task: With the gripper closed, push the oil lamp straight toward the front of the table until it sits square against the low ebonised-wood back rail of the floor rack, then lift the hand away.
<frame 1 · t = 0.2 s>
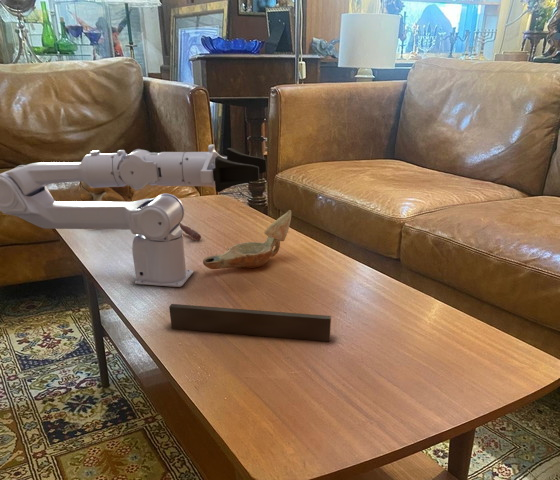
hand: (262, 169, 95), 21 cm above the table, tool horizontal, fingers open, 7 cm apart
stuffed squirrel: (118, 214, 137), point 3 cm above the table
oil lamp: (248, 265, 116), on the table
rack: (247, 323, 92), on the table
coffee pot: (170, 234, 134), on the table
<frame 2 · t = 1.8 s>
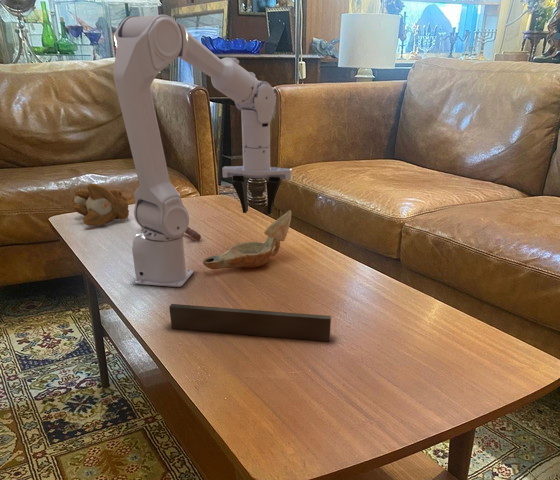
hand: (257, 212, 120), 8 cm above the table, tool pointing down, fingers open, 5 cm apart
stuffed squirrel: (110, 206, 138), point 5 cm above the table
everything else where it was.
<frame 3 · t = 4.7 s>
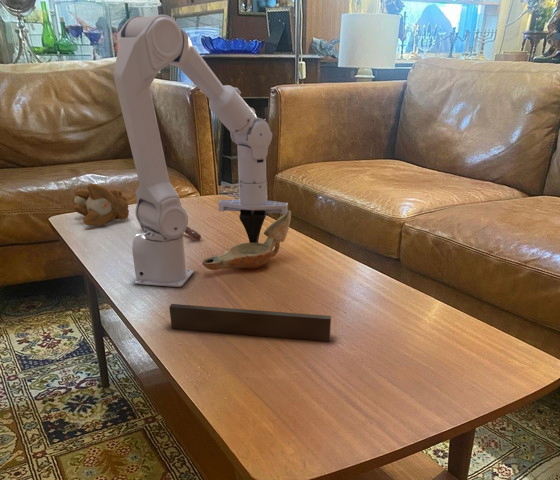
hand: (254, 245, 119), 2 cm above the table, tool pointing down, fingers closed
oil lamp: (248, 266, 115), on the table, touching gripper
everything else where it was.
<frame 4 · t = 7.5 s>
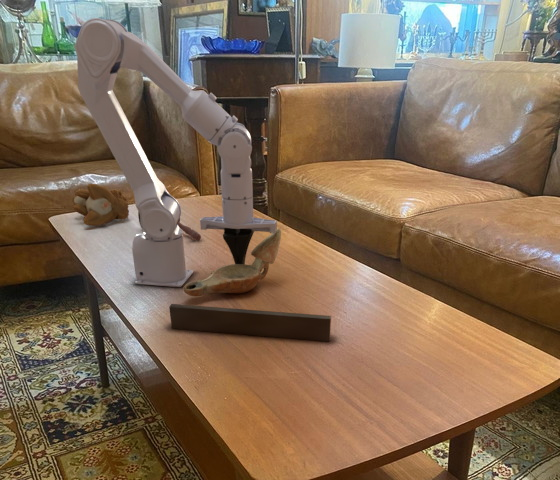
hand: (240, 266, 108), 2 cm above the table, tool pointing down, fingers closed
oil lamp: (234, 291, 104), on the table, touching gripper
everything else where it was.
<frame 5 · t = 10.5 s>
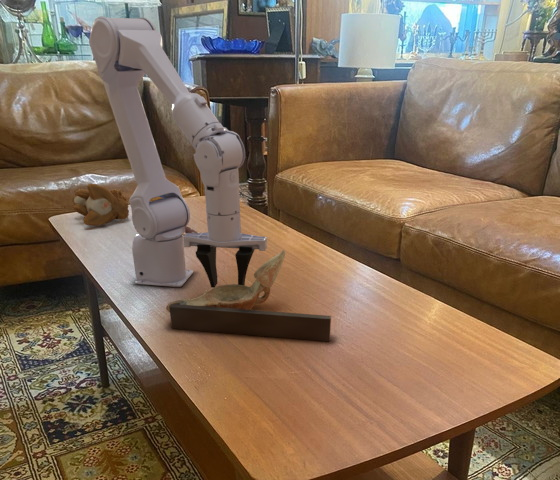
hand: (227, 286, 99), 2 cm above the table, tool pointing down, fingers open, 4 cm apart
oil lamp: (227, 313, 96), on the table, touching gripper, rack
everything else where it was.
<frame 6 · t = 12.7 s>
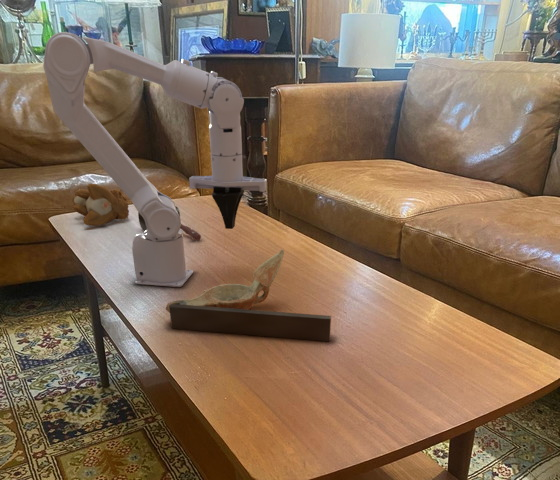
hand: (230, 227, 107), 9 cm above the table, tool pointing down, fingers closed
oil lamp: (227, 313, 96), on the table
everything else where it was.
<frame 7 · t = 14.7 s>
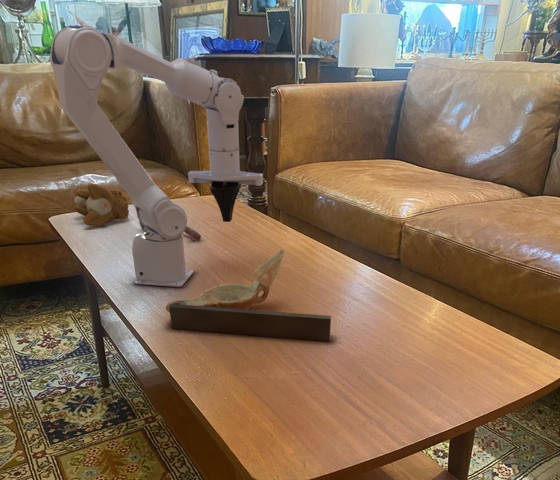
hand: (227, 220, 111), 9 cm above the table, tool pointing down, fingers closed
nothing on the table moved.
at the end: oil lamp inside the target area on the rack (1.9 cm from its centre), point 0.0 cm above the rack's base; oil lamp tilted 0°; oil lamp moved 23.4 cm from its start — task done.
